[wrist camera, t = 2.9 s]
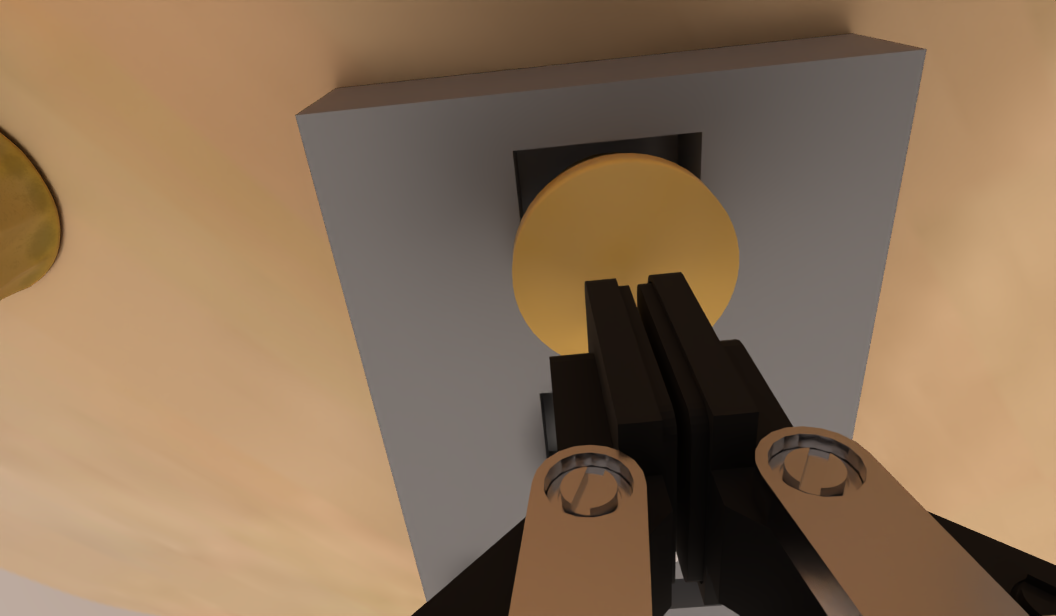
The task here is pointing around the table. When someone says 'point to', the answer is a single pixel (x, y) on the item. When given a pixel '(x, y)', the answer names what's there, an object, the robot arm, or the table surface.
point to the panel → (512, 184)
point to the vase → (24, 222)
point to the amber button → (618, 241)
